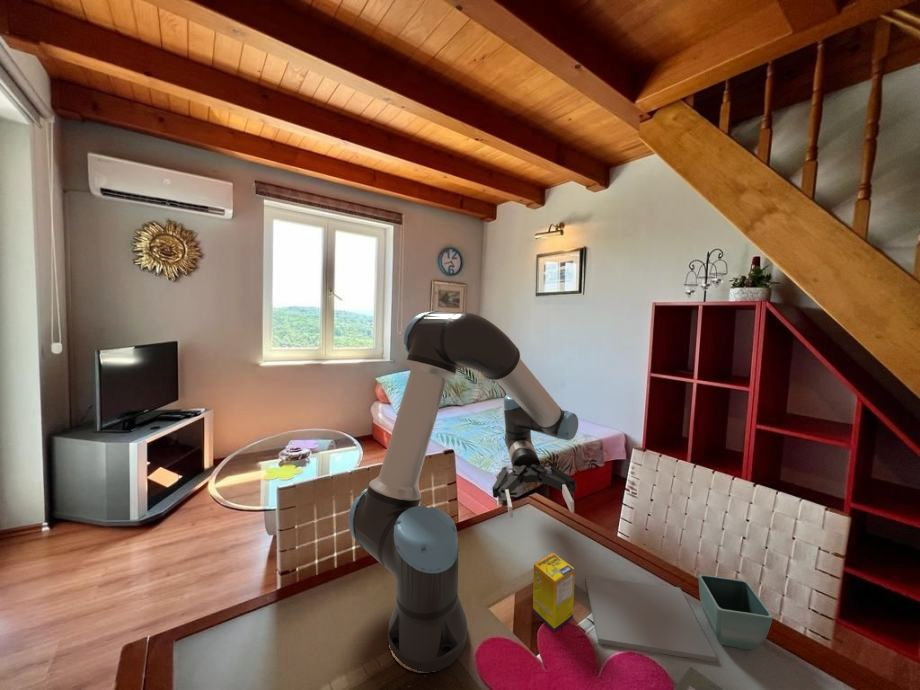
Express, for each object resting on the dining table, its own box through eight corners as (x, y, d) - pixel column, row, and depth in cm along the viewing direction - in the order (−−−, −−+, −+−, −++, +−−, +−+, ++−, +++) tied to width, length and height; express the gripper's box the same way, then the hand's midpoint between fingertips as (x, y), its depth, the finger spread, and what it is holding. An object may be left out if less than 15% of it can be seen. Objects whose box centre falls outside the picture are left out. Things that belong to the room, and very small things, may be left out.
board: (598, 643, 68) (598, 638, 68) (585, 579, 84) (585, 575, 84) (716, 662, 65) (716, 657, 65) (679, 591, 80) (679, 587, 80)
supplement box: (551, 598, 79) (552, 551, 78) (573, 617, 74) (575, 568, 73) (531, 611, 76) (532, 563, 74) (554, 633, 71) (555, 581, 69)
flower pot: (770, 663, 65) (775, 617, 64) (714, 653, 66) (718, 609, 65) (742, 620, 73) (746, 580, 72) (694, 613, 75) (697, 573, 74)
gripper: (569, 468, 102) (598, 519, 81) (480, 475, 102) (486, 529, 81) (568, 443, 100) (597, 489, 80) (478, 451, 101) (484, 499, 80)
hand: (541, 509), depth 80 cm, fingers open, 13 cm apart
